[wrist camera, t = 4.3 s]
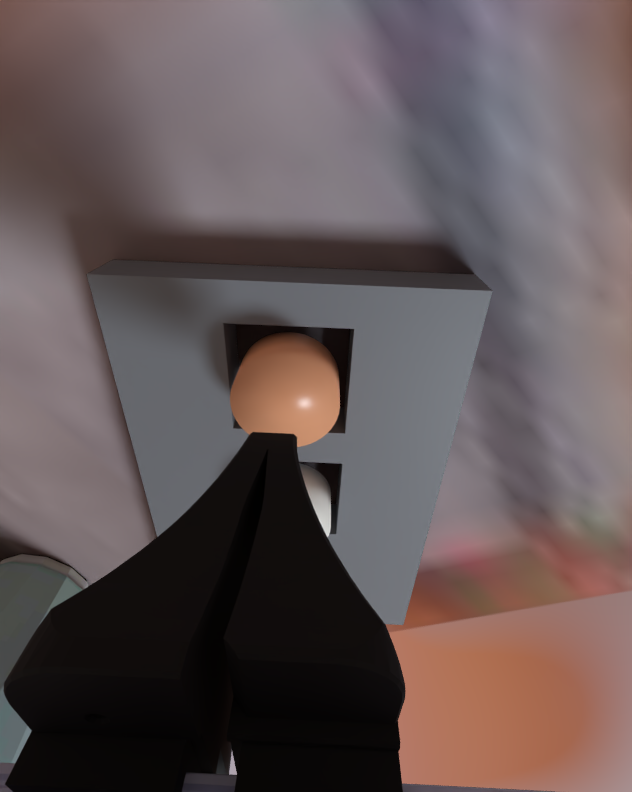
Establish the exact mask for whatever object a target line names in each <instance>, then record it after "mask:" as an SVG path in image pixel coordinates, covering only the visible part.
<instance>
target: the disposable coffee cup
mask: <svg viewBox="0 0 632 792" xmlns="http://www.w3.org/2000/svg"><path fill="white" fill-rule="evenodd" d="M87 587H88V583H87V581H85V580H84V579H83V578H82V577H81V576H80V575H79V574H78V573H77V572H76V571H74V570H73V569H72V568H71V567H69V566H66V565H64V564H62V563H59V562H57V561H55V560H52V559H50V558H48V557H42V556H33V555H25V554H20V555H17V556H13V557H10V558H7V559H3V560H2V561H1V562H0V763H16V761H17V759H18V757H19V755H20V753H21V751H22V749H23V747H24V745H25V743H26V741H27V739H28V737H29V735H30V733H31V729H30V728H29V727H28V726H27V725H26V723H25V722H24V721H23V720H22V719H21V717H20V716H19V715H18V714H17V713H16V712H15V710H14V709H13V708H12V707H11V706H10V704H9V703H8V701H7V699H6V697H5V695H4V691H3V690H4V682H5V680H6V679H7V677H8V675H9V674H10V672H11V670H12V669H13V667H14V665H15V664H16V662H17V660H18V659H19V657H20V655H21V654H22V652H23V650H24V649H25V647H26V645H27V644H28V642H29V640H30V639H31V637H32V636H33V634H34V632H35V631H36V629H37V628H38V626H39V625H40V624H41V622H42V621H43V620H44V618H45V617H46V616H47V614H48V613H49V611H50V610H51V608H53V607H55V606H57V605H58V604H60V603H62V602H64V601H65V600H67V599H68V598H70V597H72V596H73V595H75V594H77V593H78V592H80V591H82V590H83V589H85V588H87Z"/></svg>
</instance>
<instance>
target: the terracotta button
mask: <svg viewBox="0 0 632 792" xmlns="http://www.w3.org/2000/svg"><path fill="white" fill-rule="evenodd" d="M230 405H231V410H232V413H233V415H234V417H235V419H236V421H237V422H238V424H239V425H240V426H241V427H242V429H243V430H244V431H245V432H247V433H248V434H249V435H250V434H251V433H252V432H264V433H287V434H294V435H295V436H296V437H297V447H301V446H305V445H308V444H311V443H313V442H315V441H317V440H319V439H321V438H322V437H323V436H325V435H326V434H327V433H328V432H329V431H330V430H331V429H332V427H333V426H334V424H335V422H336V420H337V418H338V415H339V410H340V389H339V370H338V366H337V363H336V361H335V359H334V357H333V355H332V354H331V352H330V351H329V350H328V349H327V348H326V347H325V346H324V345H323V344H322V343H320V342H319V341H317V340H316V339H314V338H312V337H310V336H307V335H304V334H301V333H296V332H279V333H274V334H270V335H268V336H265V337H263V338H261V339H260V340H258V341H257V342H255V343H254V344H253V345H252V346H251V347H250V348H249V349H248V351H247V352H246V354H245V356H244V358H243V360H242V363H241V365H240V368H239V370H238V373H237V375H236V377H235V380H234V382H233V385H232V388H231V392H230Z"/></svg>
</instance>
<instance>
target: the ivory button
mask: <svg viewBox="0 0 632 792" xmlns="http://www.w3.org/2000/svg"><path fill="white" fill-rule="evenodd" d="M299 464H300V468H301V472H302V475H303V479H304V482H305V485H306V488H307V491H308V494H309V497H310V500H311V502H312V505H313V507H314V510H315V512H316V514H317V517H318V519H319V521H320V523H321V525H322V527H323V529H324V532H325V534H326V536H327V537H328V536H329V533H330V529H331V489H330V486H329V483H328V481H327V480H326V478H325V477H324V476H323V475H322V474H321V473H320V472H318V471H317V470H315V469H314V468H312V467H310V466H307V465H304V464H301V463H299Z"/></svg>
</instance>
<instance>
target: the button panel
mask: <svg viewBox="0 0 632 792" xmlns="http://www.w3.org/2000/svg"><path fill="white" fill-rule="evenodd" d="M87 278H88V281H89V285H90V289H91V292H92V296H93V300H94V304H95V307H96V311H97V315H98V319H99V322H100V326H101V330H102V333H103V337H104V341H105V345H106V348H107V352H108V356H109V359H110V363H111V367H112V371H113V374H114V378H115V382H116V385H117V389H118V393H119V397H120V400H121V404H122V408H123V411H124V415H125V419H126V423H127V426H128V430H129V434H130V438H131V441H132V445H133V449H134V452H135V456H136V460H137V464H138V467H139V471H140V475H141V478H142V482H143V486H144V490H145V493H146V497H147V501H148V504H149V508H150V512H151V516H152V519H153V523H154V527H155V531H156V534H157V537H158V536H159V535H160V534H162V533H163V532H164V531H165V530H166V529H167V528H169V527H170V526H171V525H172V524H173V523H174V522H175V521H176V520H178V519H179V518H180V517H181V516H182V515H183V514H184V513H185V512H186V511H187V510H188V509H189V508H190V507H191V506H192V505H193V504H194V503H195V502H196V501H197V500H198V499H199V498H200V497H201V496H202V495H203V493H204V492H205V491H206V490H207V489H208V488H209V487H210V486H211V485H212V484H213V482H214V481H215V480H216V479H217V478H218V476H219V475H220V474H221V473H222V472H223V470H224V469H225V468H226V467H227V465H228V464H229V463H230V462H231V460H232V459H233V458H234V456H235V455H236V453H237V452H238V451H239V449H240V448H241V446H242V445H243V444H244V442H245V441H246V439H247V437H248V436H249V434H248V433H247V432H245V431H244V430H243V429H242V427H241V426H240V425H239V424H238V422H237V421H236V419H235V417H234V415H233V413H232V410H231V405H230V392H231V388H232V385H233V382H234V380H235V377H236V375H237V373H238V370H239V358H238V346H237V333H236V324H252V325H276V326H299V327H322V328H346V329H350V341H349V353H348V365H347V377H346V389H345V402H344V407H340V410H339V415H338V418H337V420H336V422H335V424H334V426H333V427H332V429H331V430H330V431H329V432H328V433H327V434H326V435H325V436H323V437H322V438H321V439H319V440H317V441H315V442H313V443H311V444H308V445H305V446H301V447H297V453H298V459H299V462H318V463H339V475H338V487H337V499H336V505H331V529H330V533H329V536H328V539H329V541H330V543H331V545H332V547H333V549H334V550H335V552H336V554H337V555H338V557H339V559H340V560H341V562H342V564H343V565H344V567H345V569H346V570H347V572H348V573H349V575H350V577H351V578H352V580H353V581H354V583H355V584H356V585H357V587H358V588H359V590H360V591H361V593H362V594H363V596H364V597H365V598H366V600H367V601H368V602H369V604H370V605H371V606H372V608H373V609H374V610H375V612H376V613H377V614H378V615H379V617H380V618H381V619H382V621H383V622H384V623H385V624H396V625H403V624H404V620H405V616H406V612H407V609H408V605H409V601H410V597H411V594H412V590H413V586H414V582H415V579H416V575H417V571H418V568H419V564H420V560H421V556H422V553H423V549H424V545H425V541H426V538H427V534H428V530H429V526H430V523H431V519H432V515H433V512H434V508H435V504H436V500H437V497H438V493H439V489H440V485H441V482H442V478H443V474H444V470H445V467H446V463H447V459H448V456H449V452H450V448H451V444H452V441H453V437H454V433H455V429H456V426H457V422H458V418H459V414H460V411H461V407H462V403H463V400H464V396H465V392H466V388H467V385H468V381H469V377H470V373H471V370H472V366H473V362H474V359H475V355H476V351H477V347H478V344H479V340H480V336H481V332H482V329H483V325H484V321H485V317H486V314H487V310H488V306H489V303H490V299H491V295H492V290H491V289H490V288H489V287H488V286H487V285H486V284H485V283H484V282H483V281H482V280H480V279H479V278H478V277H477V276H476V275H475V274H450V273H426V272H401V271H377V270H352V269H328V268H303V267H279V266H254V265H230V264H206V263H181V262H157V261H132V260H111V261H110V262H108V263H106V264H104V265H102V266H101V267H99V268H97V269H95V270H93V271H91V272H90V273H88V274H87Z"/></svg>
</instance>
